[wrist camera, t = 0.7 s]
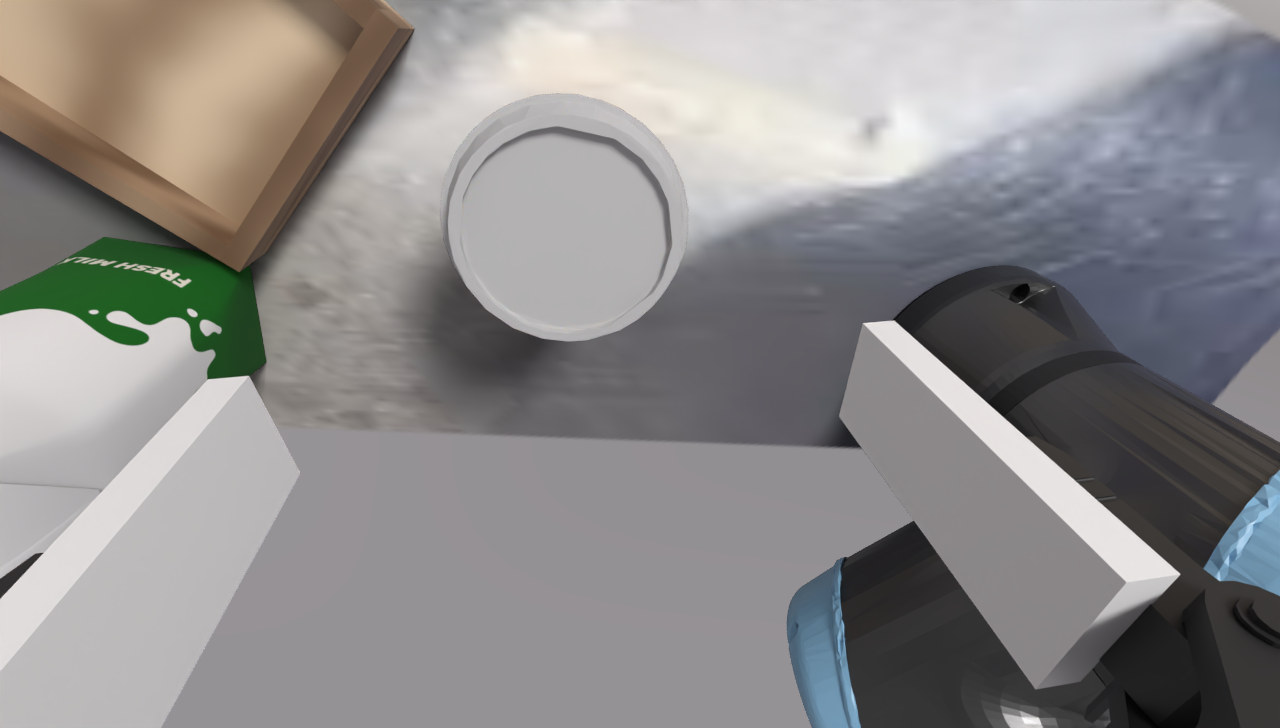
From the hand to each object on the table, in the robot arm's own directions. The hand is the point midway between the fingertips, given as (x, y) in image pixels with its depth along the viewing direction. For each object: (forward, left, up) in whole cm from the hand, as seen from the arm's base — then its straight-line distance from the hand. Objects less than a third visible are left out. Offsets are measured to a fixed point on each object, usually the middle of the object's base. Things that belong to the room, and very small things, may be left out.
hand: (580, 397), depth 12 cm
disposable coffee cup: (0, 0, -21) cm, 21 cm away
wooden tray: (+17, +7, -21) cm, 28 cm away
